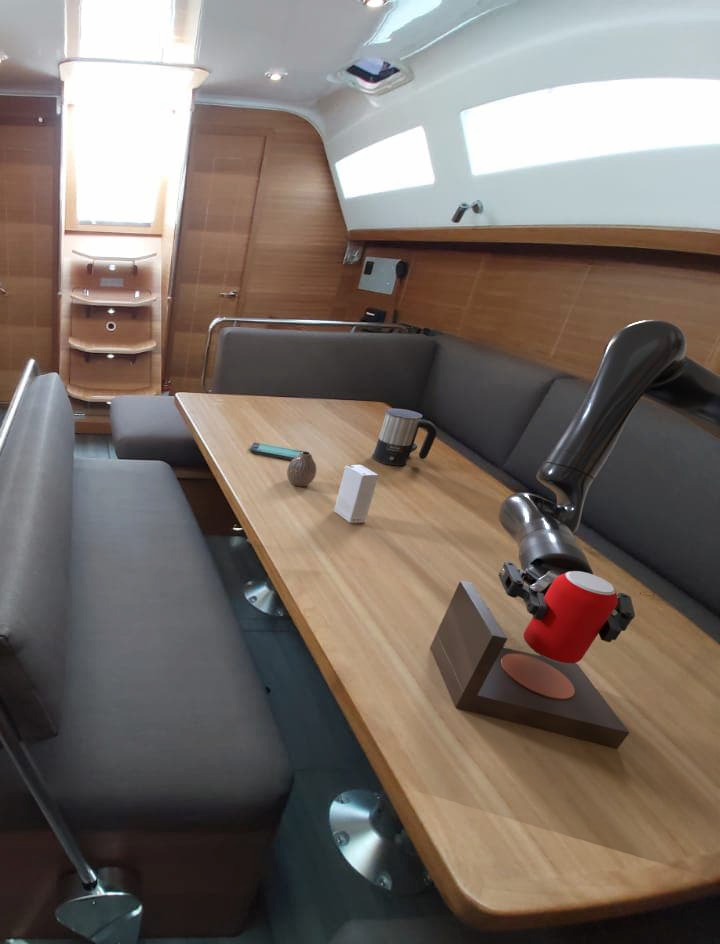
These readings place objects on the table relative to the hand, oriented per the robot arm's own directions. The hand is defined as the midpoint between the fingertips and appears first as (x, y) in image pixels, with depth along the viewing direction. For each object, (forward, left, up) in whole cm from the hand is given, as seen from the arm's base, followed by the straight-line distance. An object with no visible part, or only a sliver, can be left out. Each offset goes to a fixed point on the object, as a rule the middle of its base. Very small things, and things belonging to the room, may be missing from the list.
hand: (574, 624), depth 63 cm
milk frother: (-3, -96, -14) cm, 97 cm away
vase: (+26, -64, -14) cm, 71 cm away
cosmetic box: (+16, -49, -14) cm, 54 cm away
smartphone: (+31, -84, -14) cm, 91 cm away
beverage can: (-1, -2, -7) cm, 7 cm away
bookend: (+1, -1, -14) cm, 14 cm away
